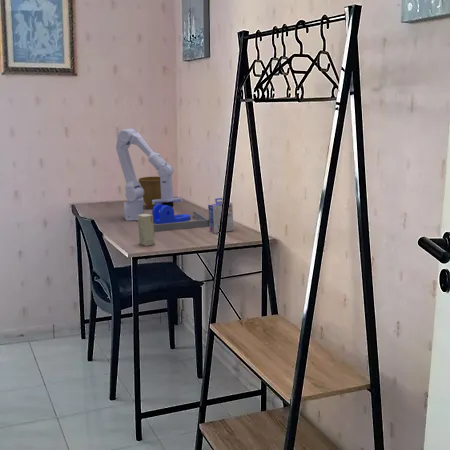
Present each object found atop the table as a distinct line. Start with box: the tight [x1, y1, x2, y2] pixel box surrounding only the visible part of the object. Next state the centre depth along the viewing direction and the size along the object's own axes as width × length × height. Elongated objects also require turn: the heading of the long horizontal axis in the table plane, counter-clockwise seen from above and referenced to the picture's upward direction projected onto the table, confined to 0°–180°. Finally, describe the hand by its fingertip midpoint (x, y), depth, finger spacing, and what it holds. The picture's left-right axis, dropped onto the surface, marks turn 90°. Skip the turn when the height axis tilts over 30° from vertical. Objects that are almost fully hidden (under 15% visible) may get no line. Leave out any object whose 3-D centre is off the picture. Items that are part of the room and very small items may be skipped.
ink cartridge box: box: [207, 197, 234, 234], centre depth 275 cm, size 10×6×14 cm, turn 118°
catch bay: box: [154, 209, 210, 233], centre depth 295 cm, size 28×25×3 cm
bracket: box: [151, 204, 192, 225], centre depth 300 cm, size 18×8×9 cm, turn 128°
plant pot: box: [137, 176, 161, 210], centre depth 337 cm, size 15×15×16 cm
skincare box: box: [137, 213, 156, 247], centre depth 256 cm, size 6×4×12 cm
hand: (168, 217), depth 306 cm, fingers closed
